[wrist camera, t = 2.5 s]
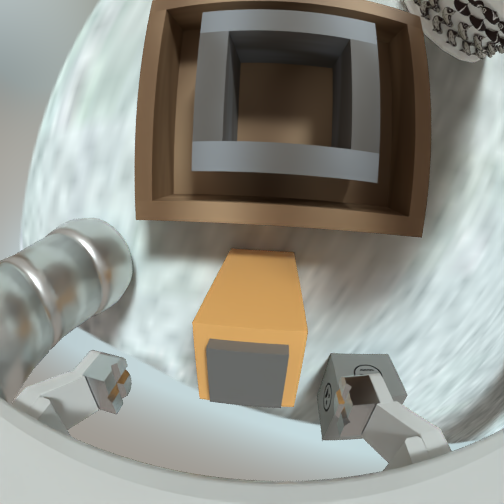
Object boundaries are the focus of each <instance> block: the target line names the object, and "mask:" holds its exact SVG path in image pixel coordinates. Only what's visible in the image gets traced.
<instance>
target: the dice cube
mask: <svg viewBox="0 0 504 504" xmlns="http://www.w3.org/2000/svg"><path fill="white" fill-rule="evenodd" d="M377 373H379V374H381V376H382V378H383V380H384V382H385V384H386V386H387V388H388V391H389V393H390V395H391V397H392V399H393V401H394V402H395V401H397V402H399V403H400V404H403V402H404V400H405V399H406V397H407V393H406V391H405V388H404V386H403V384H402V382H401V380H400V378H399V376H398V373H397V371H396V369H395V367H394V365H393V363H392V361H391V359H390V357H389V355H388V354H338V353H331V355H330V358H329V361H328V365H327V368H326V371H325V374H324V377H323V380H322V384H321V387H320V390H319V393H318V395H317V400H318V408H319V416H320V424H321V433H322V440H347V439H362V437H361V435H357V436H344V437H340V436H339V431H338V427H337V422H338V419H339V418H338V417H337V416H336V415H335V412H334V398H335V394H336V392H337V391H338V390H339V389H340V387H339V381H340V378H341V377H342V376H354V375H367V374H377Z"/></svg>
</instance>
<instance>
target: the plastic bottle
mask: <svg viewBox="0 0 504 504" xmlns="http://www.w3.org/2000/svg"><path fill="white" fill-rule="evenodd" d="M131 277H132V259H131V254H130V251H129V248H128V245H127V244H126V242H125V240H124V238H123V237H122V236H121V234H120V233H119V232H118V231H117V230H116V229H115V228H114V227H113V226H111V225H110V224H108V223H107V222H105V221H103V220H100V219H97V218H82V219H73V220H70V221H68V222H66V223H64V224H62V225H61V226H59V227H57V228H56V229H54V230H53V231H52V232H51V233H49V234H48V235H47V236H46V237H44V238H43V239H41V240H39V241H37V242H35V243H34V244H32V245H30V246H28V247H27V248H25V249H23V250H22V251H20V252H18V253H17V254H15V255H13V256H11V257H8V258H6V259H4V260H1V261H0V397H1V398H2V399H4V400H5V401H7V402H8V403H10V404H11V403H12V401H13V400H14V398H15V396H16V395H17V393H18V392H19V390H20V389H21V387H22V386H23V384H24V382H25V381H26V380H27V378H28V377H29V375H30V374H31V372H32V371H33V369H34V368H35V367H36V366H37V365H38V363H39V362H40V361H41V360H42V359H43V358H44V357H45V356H46V354H48V352H49V350H50V349H52V348H53V347H54V346H55V345H56V344H57V343H58V341H60V340H61V338H63V337H64V336H65V335H67V334H68V333H69V332H71V331H72V330H73V329H74V328H76V327H78V326H79V325H80V324H82V323H83V322H84V321H86V320H87V319H89V318H90V317H92V316H95V315H97V314H99V313H101V312H103V311H105V310H106V309H108V308H109V307H111V306H112V305H114V304H115V303H116V302H118V300H119V299H120V298H121V296H122V295H123V293H124V292H125V290H126V289H127V287H128V285H129V283H130V281H131Z"/></svg>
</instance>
